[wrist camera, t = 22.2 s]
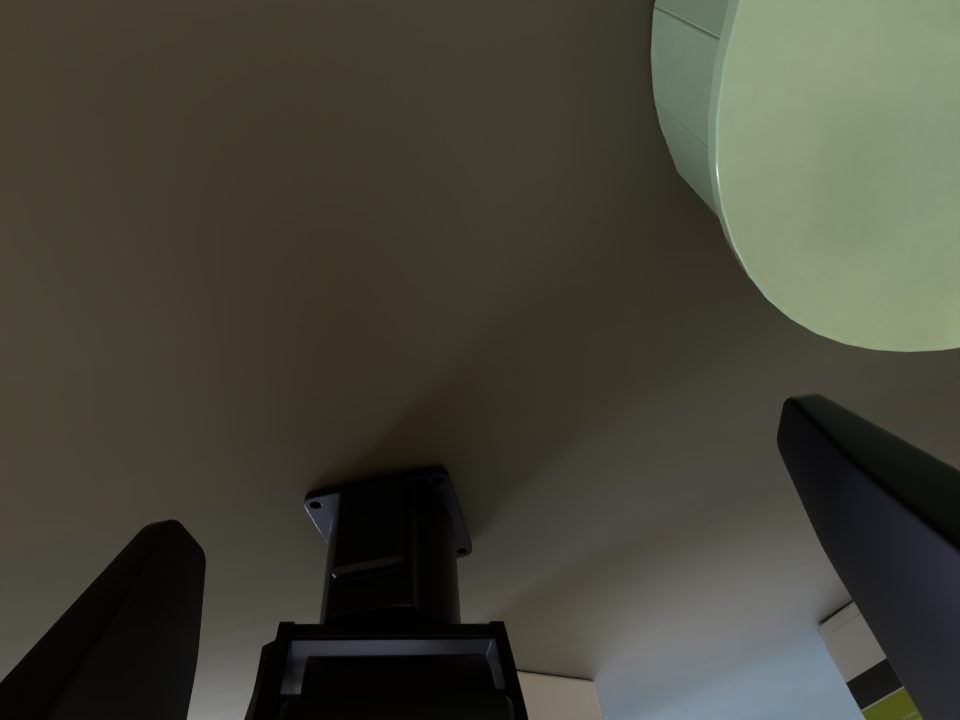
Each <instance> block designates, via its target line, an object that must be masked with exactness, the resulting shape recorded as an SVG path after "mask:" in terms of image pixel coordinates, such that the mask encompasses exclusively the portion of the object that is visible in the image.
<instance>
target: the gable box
mask: <svg viewBox="0 0 960 720" xmlns="http://www.w3.org/2000/svg"><path fill="white" fill-rule="evenodd" d="M517 674H518V678H519V682H520V686H521V690H522V694H523V698H524V702H525V706H526V710H527V714H528V719H529V720H603V716H602V711H601V707H600V703H599V699H598V694H597V690H596V686H595V683H594V682H593V681H589V680H582V679H574V678H566V677H558V676H551V675H543V674H535V673H527V672H520V671H517Z"/></svg>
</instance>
